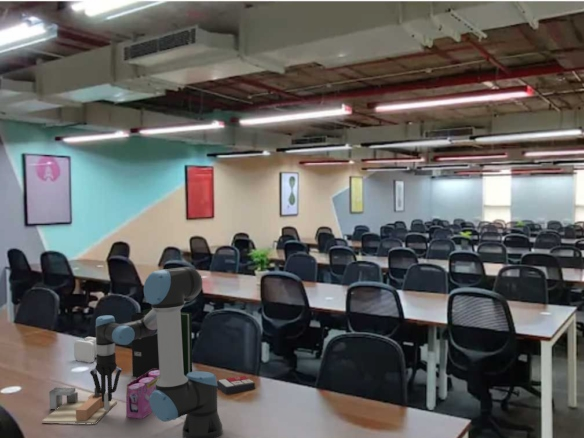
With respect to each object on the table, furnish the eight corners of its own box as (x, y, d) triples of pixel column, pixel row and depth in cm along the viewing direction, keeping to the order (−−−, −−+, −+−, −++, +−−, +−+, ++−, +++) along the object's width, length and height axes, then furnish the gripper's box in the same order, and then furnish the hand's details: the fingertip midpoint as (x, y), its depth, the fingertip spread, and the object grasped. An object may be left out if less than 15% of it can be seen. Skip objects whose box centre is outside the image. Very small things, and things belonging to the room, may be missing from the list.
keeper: (70, 410, 223) (69, 392, 223) (49, 410, 224) (49, 391, 223) (77, 404, 230) (77, 386, 230) (58, 403, 231) (57, 385, 230)
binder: (193, 374, 268) (192, 312, 267) (176, 383, 255) (175, 319, 254) (150, 368, 279) (149, 308, 278) (131, 376, 265) (130, 314, 264)
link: (93, 402, 228) (93, 393, 228) (108, 402, 228) (107, 393, 228) (73, 419, 210) (73, 409, 210) (89, 419, 210) (89, 410, 210)
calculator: (255, 381, 247) (226, 386, 240) (254, 390, 247) (225, 395, 240) (245, 375, 257) (216, 379, 249) (245, 383, 257) (216, 387, 249)
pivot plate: (94, 424, 209) (94, 402, 208) (41, 423, 210) (41, 401, 210) (116, 403, 231) (116, 383, 230) (68, 402, 232) (68, 382, 232)
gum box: (141, 420, 212) (140, 387, 212) (123, 418, 214) (123, 386, 214) (169, 398, 236) (168, 369, 235) (153, 397, 238) (152, 367, 237)
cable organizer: (72, 360, 294) (72, 340, 293) (87, 355, 303) (87, 335, 303) (92, 364, 287) (91, 343, 287) (106, 358, 296) (106, 338, 296)
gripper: (123, 349, 221) (124, 404, 222) (92, 351, 220) (93, 406, 221) (120, 355, 214) (121, 411, 215) (87, 356, 213) (88, 413, 213)
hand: (107, 408), depth 218 cm, fingers closed
